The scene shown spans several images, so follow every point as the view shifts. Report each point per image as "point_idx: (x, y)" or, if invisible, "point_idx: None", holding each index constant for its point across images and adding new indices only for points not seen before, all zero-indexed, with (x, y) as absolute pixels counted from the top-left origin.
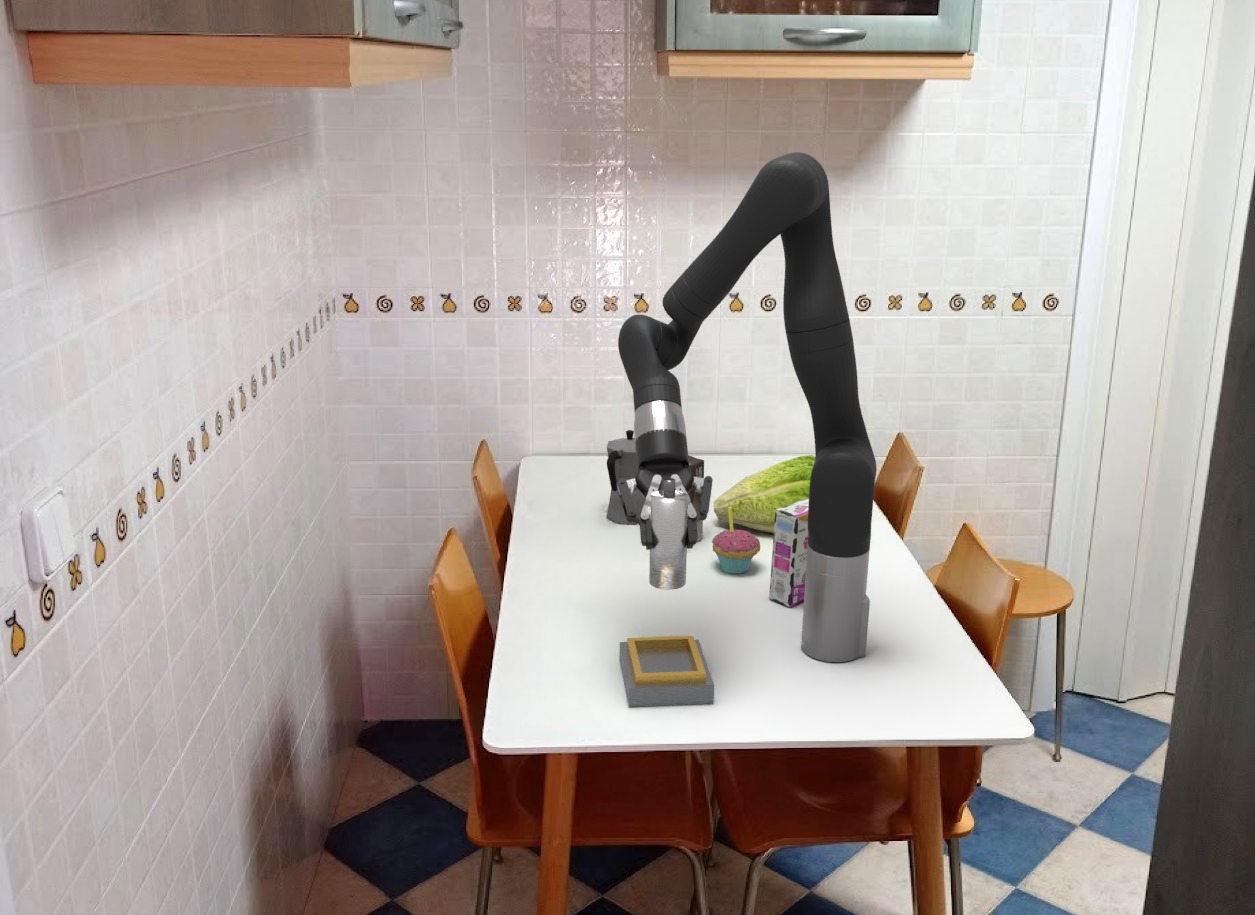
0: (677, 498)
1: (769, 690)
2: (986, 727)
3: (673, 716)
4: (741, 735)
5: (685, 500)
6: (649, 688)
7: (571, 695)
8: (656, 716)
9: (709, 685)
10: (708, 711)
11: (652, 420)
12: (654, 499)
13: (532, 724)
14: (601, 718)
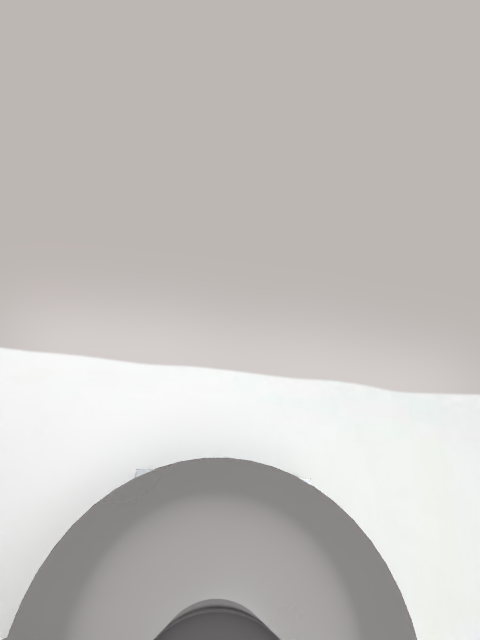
0: (142, 580)
1: (12, 516)
2: None
3: (226, 442)
4: (129, 368)
5: (77, 521)
6: None
7: (414, 551)
8: (256, 446)
9: (146, 470)
10: (159, 451)
11: None
12: (384, 576)
13: (473, 449)
14: (354, 453)
